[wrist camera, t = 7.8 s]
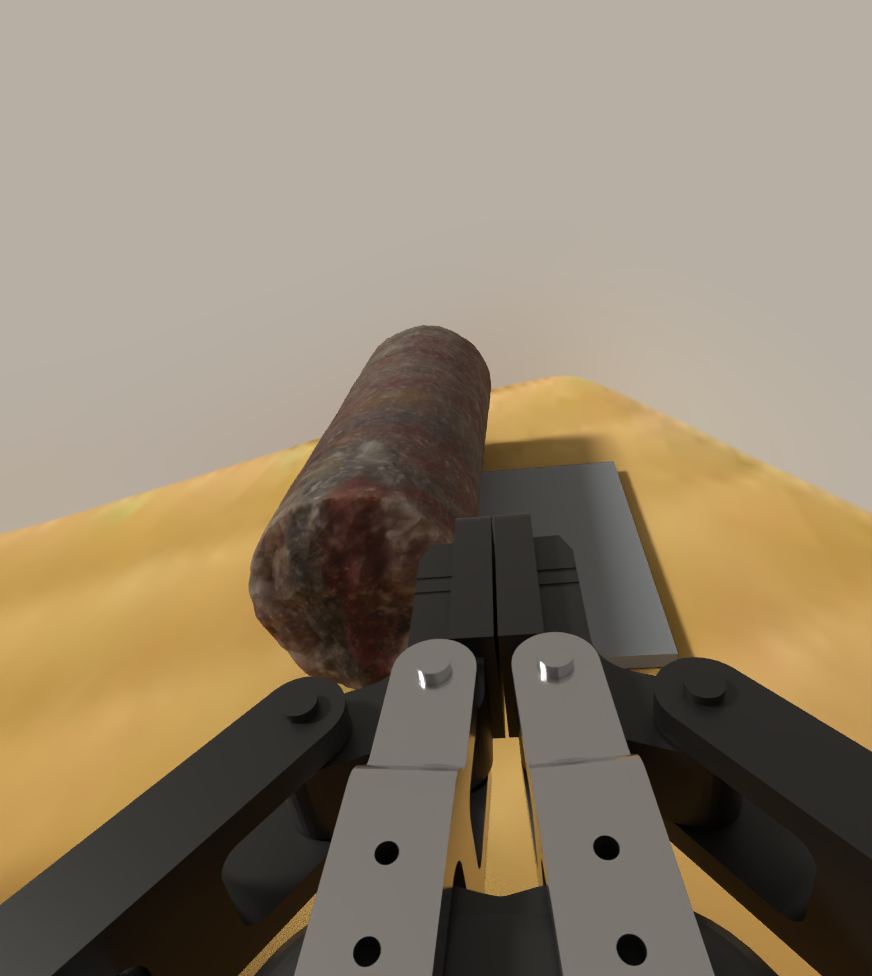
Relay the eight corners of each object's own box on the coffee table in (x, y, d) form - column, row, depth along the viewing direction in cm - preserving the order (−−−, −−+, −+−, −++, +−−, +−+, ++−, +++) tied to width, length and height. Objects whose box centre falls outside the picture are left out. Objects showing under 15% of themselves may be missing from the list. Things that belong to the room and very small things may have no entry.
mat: (366, 680, 25) (363, 668, 25) (406, 487, 37) (404, 478, 37) (677, 666, 24) (678, 653, 23) (613, 471, 36) (613, 461, 35)
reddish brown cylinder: (522, 591, 21) (516, 368, 38) (311, 461, 19) (406, 292, 36) (389, 728, 24) (440, 467, 41) (202, 628, 23) (336, 401, 40)
